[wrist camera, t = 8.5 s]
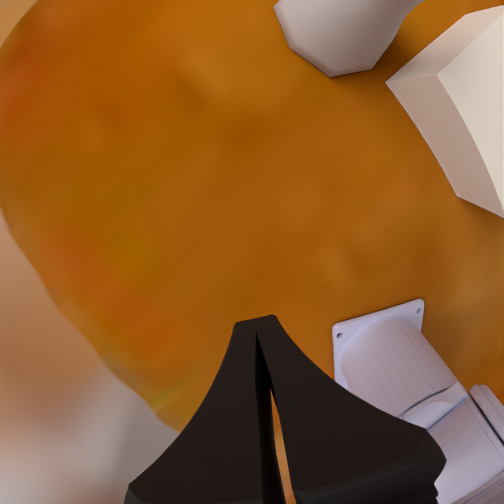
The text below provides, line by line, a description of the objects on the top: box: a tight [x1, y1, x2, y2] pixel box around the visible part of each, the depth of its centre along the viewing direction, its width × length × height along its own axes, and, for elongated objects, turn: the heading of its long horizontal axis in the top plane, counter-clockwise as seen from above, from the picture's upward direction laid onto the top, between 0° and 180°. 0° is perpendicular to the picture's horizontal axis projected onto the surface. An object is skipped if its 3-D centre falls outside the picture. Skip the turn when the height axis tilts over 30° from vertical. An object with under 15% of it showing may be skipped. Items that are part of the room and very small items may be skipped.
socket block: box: [385, 5, 504, 218], centre depth 14 cm, size 10×11×6 cm
